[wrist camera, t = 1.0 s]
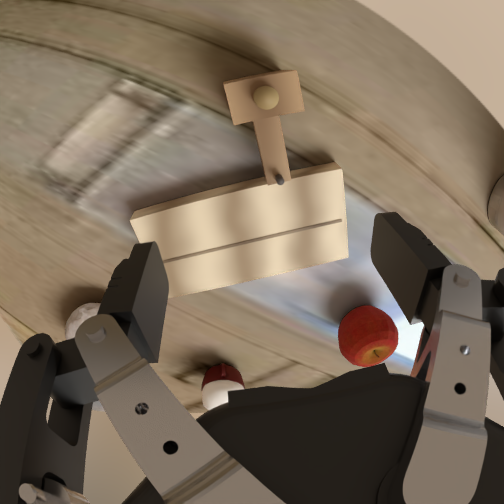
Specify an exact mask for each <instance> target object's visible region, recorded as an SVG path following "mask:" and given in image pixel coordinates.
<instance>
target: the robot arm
mask: <svg viewBox="0 0 504 504" xmlns="http://www.w3.org/2000/svg"><path fill="white" fill-rule="evenodd" d="M488 218H489V221H490V223H491V225H492V226H494V227H495V228H496V229H497V230H498V231H499V232H500V233H501V234H503V235H504V175H503V176H502V177H501V178H500V179H499V180H498V182H497V184H496V185H495V187H494V189H493V191H492V194H491V197H490V200H489V205H488ZM371 259H372V262H373V264H374V266H375V268H376V269H377V271H378V272H379V274H380V276H381V277H382V279H383V280H384V282H385V283H386V285H387V287H388V288H389V290H390V292H391V293H392V295H393V296H394V298H395V300H396V301H397V303H398V305H399V306H400V308H401V310H402V311H403V313H404V315H405V316H406V318H407V320H408V322H409V323H410V325H412V324H416V323H419V322H423V324H424V327H423V330H422V333H421V337H420V341H419V346H418V350H417V354H416V358H415V362H414V365H413V369H412V372H411V375H410V376H409V375H403V374H394V373H389V372H388V370H387V367H386V365H385V363H382V364H378V365H375V366H371V367H367V368H362V369H358V370H354V371H349V372H347V373H345V374H343V375H341V376H339V377H337V378H335V379H332V380H330V381H328V382H326V383H324V384H321V385H319V386H317V387H314V388H287V387H272V386H266V387H258V388H250V389H241V390H232V391H228V402H227V403H224V404H221V405H219V406H217V407H215V408H212V409H211V410H209V411H207V412H206V413H204V414H203V415H201V416H200V417H199V418H197V419H196V420H195V419H194V418H193V417H192V416H191V414H190V413H189V412H188V411H187V410H186V409H185V408H184V406H183V405H182V404H181V403H180V402H179V401H178V399H177V398H176V397H175V396H174V395H173V393H172V392H171V391H170V390H169V389H168V387H167V386H166V385H165V384H164V382H163V381H162V380H161V379H160V377H159V376H158V375H157V374H156V372H155V371H154V370H153V368H152V367H151V366H150V365H149V363H158V358H159V351H160V344H161V337H162V331H163V324H164V318H165V312H166V306H167V300H168V294H169V282H168V277H167V273H166V270H165V267H164V264H163V261H162V257H161V254H160V251H159V247H158V245H157V243H156V242H155V241H152V242H145V243H139V244H135V245H134V247H133V250H132V252H131V255H130V257H129V259H124V260H123V261H122V262H121V263H120V264H119V265H118V266H117V267H116V268H115V270H114V272H113V274H112V277H111V280H110V282H109V284H108V288H107V289H106V292H105V294H104V297H103V299H102V302H101V304H100V307H99V310H98V312H97V315H95V316H92V317H90V318H88V319H87V320H85V321H84V322H83V323H82V324H81V325H80V326H79V327H78V329H77V331H76V333H75V337H74V338H71V339H68V340H65V341H62V342H59V343H56V344H55V343H54V341H53V340H52V339H51V337H50V336H49V335H47V334H44V333H40V334H36V335H34V336H32V337H30V338H29V339H28V340H26V341H25V342H24V344H23V345H22V347H21V348H20V351H19V353H18V356H17V358H16V360H15V363H14V366H13V368H12V371H11V374H10V377H9V380H8V383H7V386H6V389H5V391H4V395H3V398H2V401H1V404H0V504H90V503H89V501H88V500H87V499H86V498H85V497H84V496H83V483H84V470H85V458H86V449H87V440H88V431H89V424H90V417H91V410H92V404H93V402H94V401H98V400H99V401H100V403H101V404H102V406H103V408H104V410H105V412H106V414H107V415H108V417H109V419H110V421H111V422H112V424H113V426H114V427H115V429H116V431H117V432H118V434H119V436H120V437H121V439H122V441H123V442H124V444H125V445H126V447H127V448H128V450H129V452H130V453H131V455H132V456H133V457H134V459H135V460H136V462H137V463H138V465H139V466H140V468H141V469H142V471H143V472H144V474H145V475H146V477H145V479H144V480H143V481H142V482H141V483H140V484H139V485H138V486H137V487H136V489H135V490H134V491H133V492H132V493H131V494H130V495H129V496H128V497H127V499H125V501H124V502H123V503H122V504H504V427H503V426H501V425H499V424H497V423H495V422H494V421H492V420H490V419H489V418H487V417H485V413H486V405H487V396H488V385H489V373H491V375H492V377H493V379H494V381H495V383H496V385H497V387H498V389H499V391H500V393H501V395H502V397H503V400H504V268H502V269H500V270H499V272H498V274H497V276H496V279H495V281H494V280H480V278H479V276H478V275H477V273H476V272H474V271H473V270H472V269H470V268H468V267H466V266H463V265H459V264H451V263H450V262H449V261H448V259H447V258H446V257H445V256H444V255H443V254H442V253H441V252H440V251H439V249H438V248H437V247H436V246H435V245H433V243H432V242H431V241H430V240H429V239H427V237H426V236H425V234H424V233H423V232H422V231H421V230H420V229H418V228H416V227H415V226H413V225H411V224H409V223H407V222H406V221H405V220H404V219H403V218H402V217H401V216H400V215H399V214H398V213H397V212H388V213H378V214H376V216H375V219H374V227H373V235H372V243H371ZM50 397H51V398H52V399H53V402H52V406H51V410H50V415H49V420H48V424H47V421H46V412H47V408H48V404H49V399H50Z"/></svg>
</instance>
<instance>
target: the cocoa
mask: <svg viewBox="0 0 504 504" xmlns="http://www.w3.org/2000/svg"><path fill="white" fill-rule="evenodd" d="M241 389H245V387H244V383H243V380H242V377H241V374H240V372H239V371H238V370H237V369H235V368H234V367H233V366H229V365H225V363H221V365H217V366H213V367H211V368H210V369H209V370H208V371H206V373H205V376H204V379H203V382H202V400H203V406H204V407H205V408H207V409H208V410H211V409H212V408H215V407H217V406H219V405H221V404H224V403H227V402H228V391H232V390H241Z"/></svg>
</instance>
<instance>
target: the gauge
mask: <svg viewBox="0 0 504 504" xmlns="http://www.w3.org/2000/svg"><path fill="white" fill-rule="evenodd" d="M223 84H224V88H225V92H226V96H227V100H228V104H229V108H230V112H231V116H232V120H233V124H234V125H238V124H242V123H246V122H251V121H253V125H254V130H255V134H256V139H257V143H258V147H259V152H260V156H261V161H262V165H263V170H264V174H265V179H266V182H267V185H273V184H278V185H283V184H284V182H286V181H291V175H290V170H289V164H288V159H287V153H286V148H285V143H284V138H283V133H282V128H281V123H280V118H279V115H285V114H290V113H296V112H301V111H305V110H304V104H303V99H302V94H301V89H300V84H299V79H298V74H297V70H279V71H273V72H267V73H262V74H257V75H252V76H247V77H242V78H238V79H233V80H229V81H225V82H223Z"/></svg>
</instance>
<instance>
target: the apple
mask: <svg viewBox="0 0 504 504" xmlns="http://www.w3.org/2000/svg"><path fill="white" fill-rule="evenodd" d="M338 340H339V348H340V351H341V353H342V355H343V356H344V357H345V358H346V359H347V360H348V361H349V362H350V363H352V364H353V365H357V366H362V367H369V366H374V365H376V364H379V363H381V362H382V361H384V360H385V359H387V358H388V357H389V356H390V355H392V353H393V352H394V351H395V349H396V347H397V345H398V330H397V327H396V326H395V324H394V322H393V320H392V319H391V317H390V316H389V315H387V314H386V313H385V312H384V311H382V310H380V309H378V308H376V307H373V306H371V305H363V306H360V307H357V308H355V309H353V310H352V311H350V312H349V313H348V314H347V315H346V316H345V317H344V318H343V319H342V321H341V323H340V326H339V329H338Z"/></svg>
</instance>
